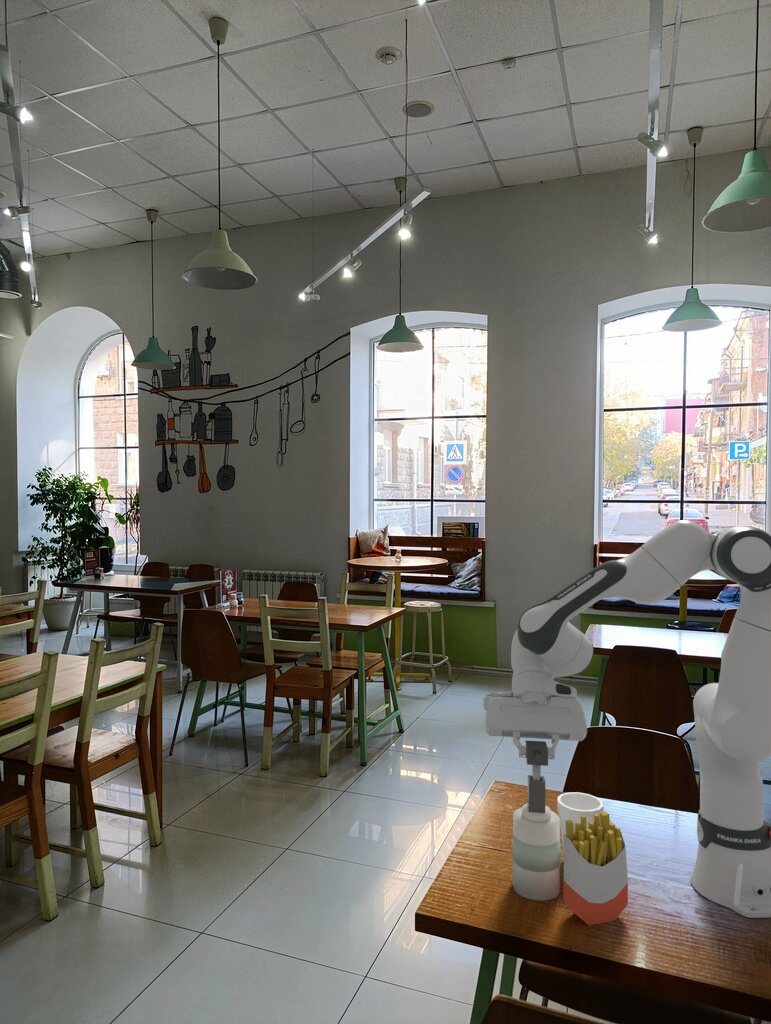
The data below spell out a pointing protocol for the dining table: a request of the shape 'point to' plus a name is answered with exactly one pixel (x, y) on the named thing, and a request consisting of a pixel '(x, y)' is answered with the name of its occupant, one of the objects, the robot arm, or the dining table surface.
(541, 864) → the syrup bottle
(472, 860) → the dining table surface
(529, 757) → the pump head
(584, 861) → the french fries container
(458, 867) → the dining table surface
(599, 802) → the foam cup
